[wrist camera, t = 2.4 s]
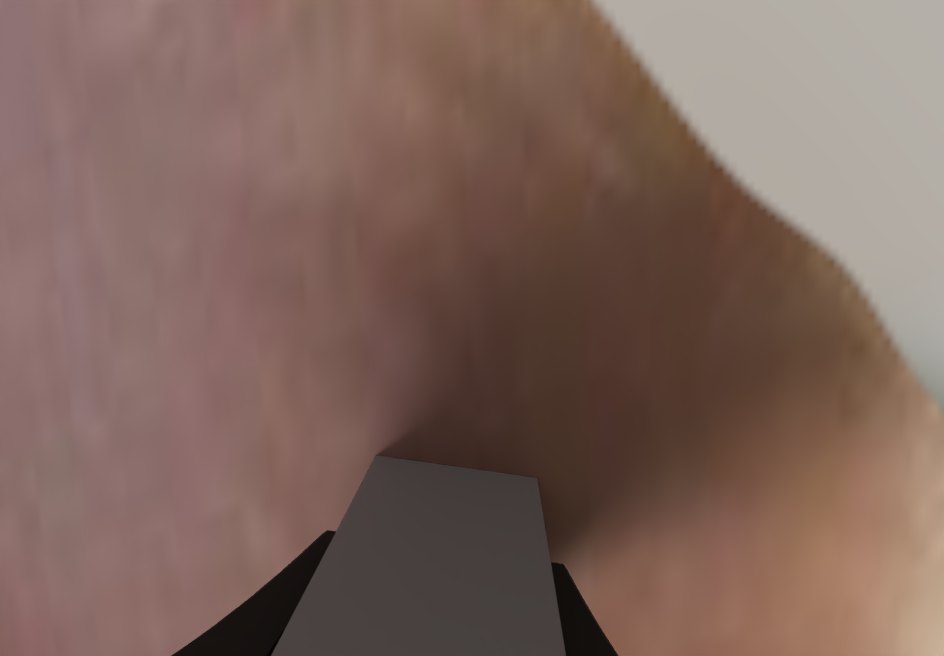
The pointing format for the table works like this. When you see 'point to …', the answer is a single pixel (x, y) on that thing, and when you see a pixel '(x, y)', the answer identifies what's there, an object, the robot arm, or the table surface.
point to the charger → (432, 570)
